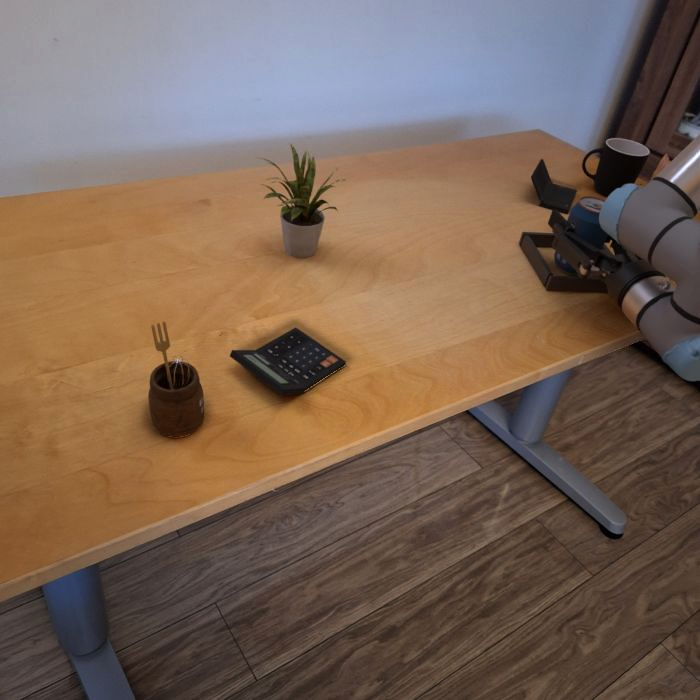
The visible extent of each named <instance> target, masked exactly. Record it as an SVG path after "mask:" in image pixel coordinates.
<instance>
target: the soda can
mask: <svg viewBox="0 0 700 700" xmlns="http://www.w3.org/2000/svg"><path fill="white" fill-rule="evenodd" d="M605 200H606V199H604V198H601V197H597V196H593V195H584V196H581V197H580V198H579V199H578V201H577V202H576V203H575V204H574V205H572V206H571V208H570V211H569V213H568V214H569V215H568V216H567V219H566V220H567V222H568V223H569V224H570V225H571V226H572V227H573V228H574V231H573V233H575V234H576V235H578V236H579V237H581V238H582V239H584V240H585V241H587V242H588V243H590V244H592V245H593V246H595V247H596V248H598V249H599V250H601V249H602V248H603V245H604V243H605V241H606V238H607V236H608V234H607V233H606V232H605V231H604V230H603V229H602V228H601V225H600V223H599V214H600V210H601V208H602V205H603V204H604V202H605ZM605 244H606V243H605ZM554 251H555V252H554V253H553V259H554V264H555V266H556V268H557V269H558V270H559V271H560V272H563V273H565V274H566V275H567V274H568V275H569V276H578V274H577V271H576V270H575V269H574V268H573V267H572V266H571V265H570V264H569V263H568V262H567V261H566V260H565V259H564V258H563V257H562V256H561V255H560V254H559V253H558V252H557V251H556V250H554Z"/></svg>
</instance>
